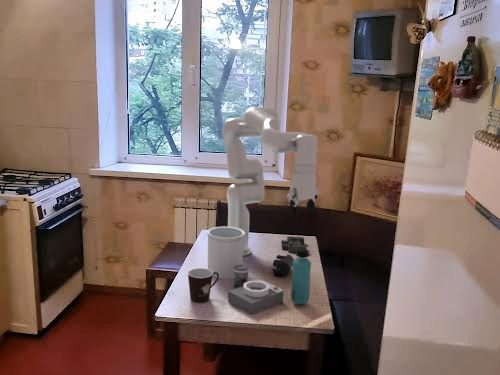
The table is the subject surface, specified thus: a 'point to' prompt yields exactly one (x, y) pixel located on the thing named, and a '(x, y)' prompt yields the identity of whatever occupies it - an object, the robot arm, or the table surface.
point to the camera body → (255, 296)
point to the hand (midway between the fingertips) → (301, 214)
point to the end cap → (282, 265)
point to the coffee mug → (200, 284)
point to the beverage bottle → (301, 277)
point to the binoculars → (293, 244)
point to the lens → (240, 275)
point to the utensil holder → (225, 250)
